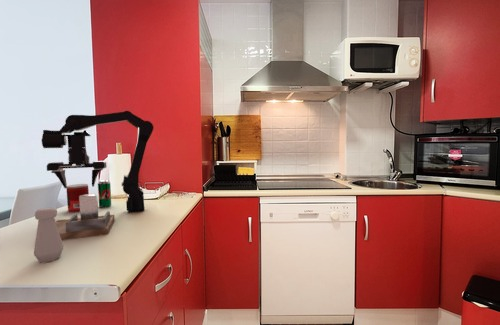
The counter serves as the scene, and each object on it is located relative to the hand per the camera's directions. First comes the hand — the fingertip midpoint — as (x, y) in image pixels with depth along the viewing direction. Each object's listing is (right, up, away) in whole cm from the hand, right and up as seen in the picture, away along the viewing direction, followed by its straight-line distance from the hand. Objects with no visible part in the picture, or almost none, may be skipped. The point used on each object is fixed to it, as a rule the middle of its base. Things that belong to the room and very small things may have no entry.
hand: (79, 187), depth 98 cm
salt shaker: (+17, -15, -35) cm, 42 cm away
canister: (+14, -11, -15) cm, 23 cm away
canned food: (-9, -11, +12) cm, 19 cm away
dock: (+10, -13, -14) cm, 22 cm away
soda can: (0, -11, +18) cm, 21 cm away
